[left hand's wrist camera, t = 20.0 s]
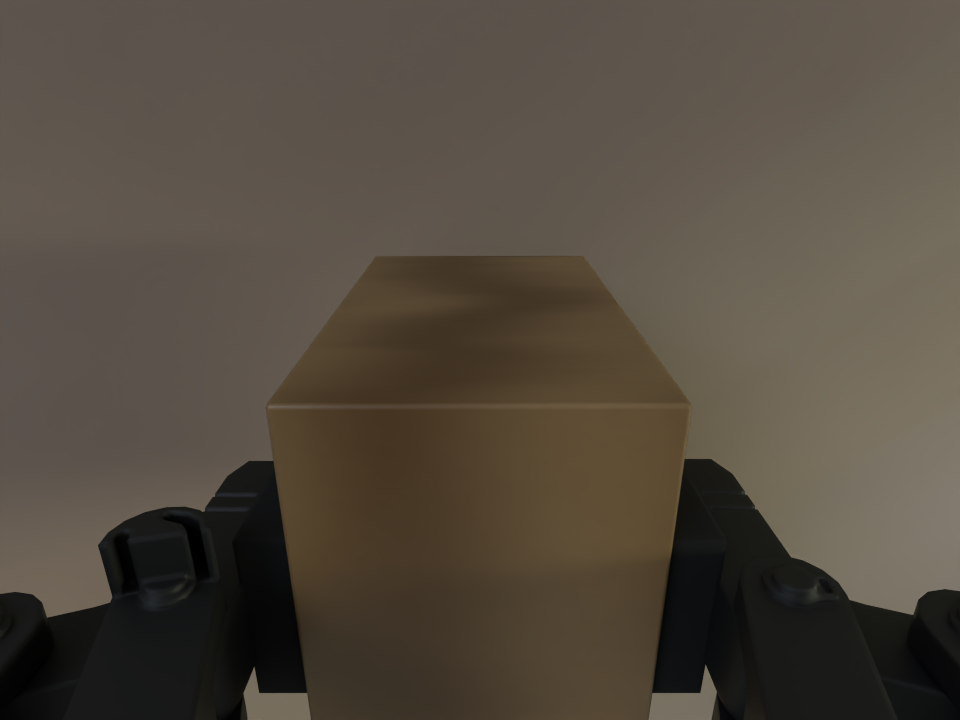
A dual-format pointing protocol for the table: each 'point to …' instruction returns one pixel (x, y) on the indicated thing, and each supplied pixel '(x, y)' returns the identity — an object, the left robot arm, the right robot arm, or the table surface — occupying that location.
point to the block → (479, 495)
